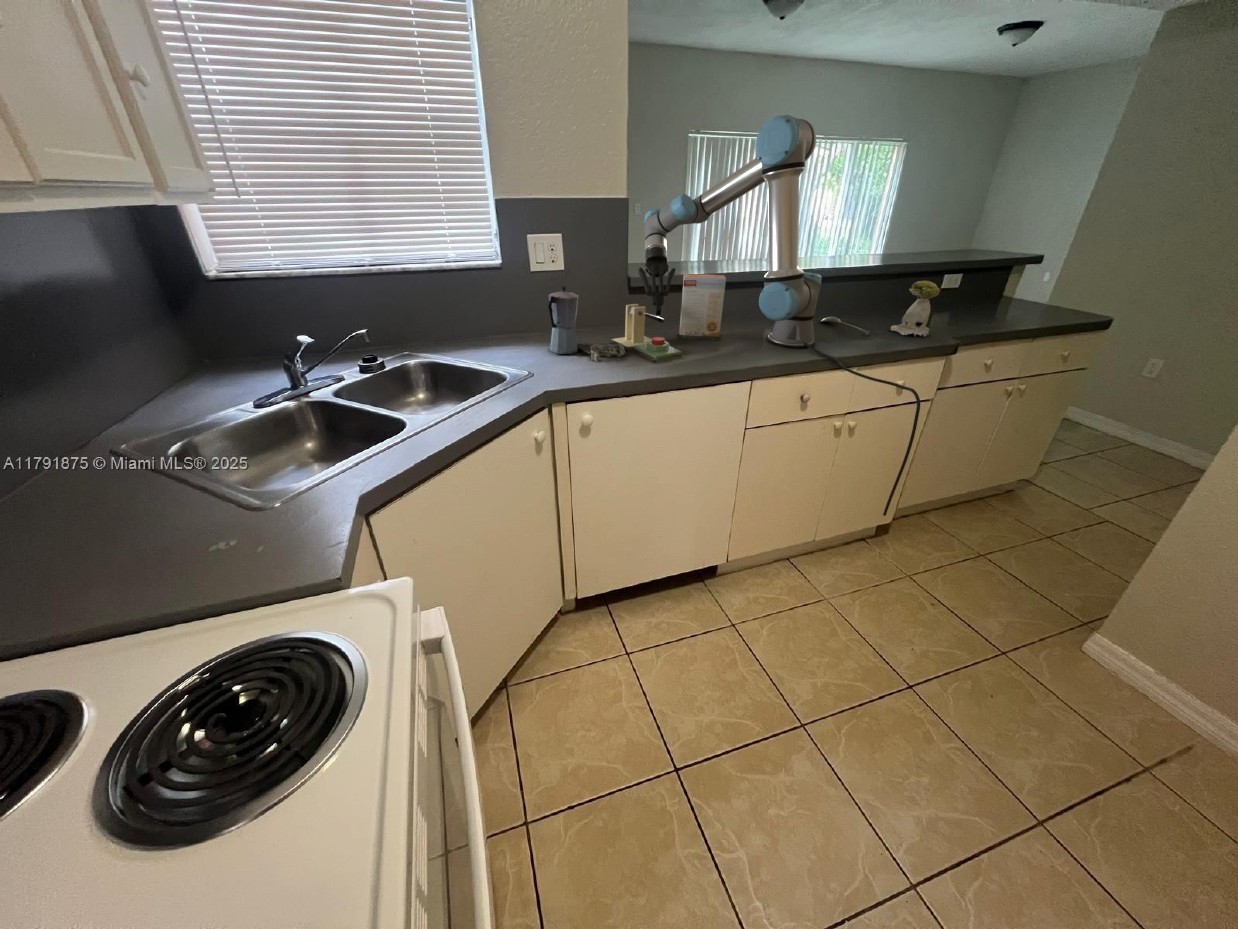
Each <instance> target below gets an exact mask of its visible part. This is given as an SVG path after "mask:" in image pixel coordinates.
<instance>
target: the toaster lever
mask: <svg viewBox="0 0 1238 929" xmlns="http://www.w3.org/2000/svg"><path fill="white" fill-rule="evenodd" d="M633 308H634V307H633V306H632V307H631V310H630V313H629V314H632V315H633ZM645 318H649V319H651V320H653V321H655V322H659V323H661V324H664V321H665V318H662V317H660V316H658V315H655V314H649V313H646V312H645Z"/></svg>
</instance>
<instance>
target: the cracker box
mask: <svg viewBox="0 0 1238 929" xmlns="http://www.w3.org/2000/svg"><path fill="white" fill-rule="evenodd" d="M726 282H727V277H726V276H725V275H724V274H699V273H698V274H697V273H695V274H693V273H691V274H689V273H685V274H683V282H682V293H681V305H680V321H679V335H680V336H692V337H693V336H695V337H718V338H719V337H720V334H721V326H722V317H723V309H724V299H725V290H726Z"/></svg>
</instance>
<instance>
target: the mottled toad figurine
mask: <svg viewBox="0 0 1238 929" xmlns="http://www.w3.org/2000/svg"><path fill="white" fill-rule="evenodd" d="M589 349H590V352H589V353H591V354H590V357H591V361H595V362H600V361H601V359H600V357H606V358H611V357H613V356H616V357H622V356H625V354H626V351H625V350H626V349H625V346H624V345H623V344H622V343H616V344H615V343H613V344H611V343H608V344H599V343H593V344H592V345H591V346H590V347H589ZM617 351H619V352H617Z"/></svg>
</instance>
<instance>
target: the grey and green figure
mask: <svg viewBox="0 0 1238 929" xmlns="http://www.w3.org/2000/svg"><path fill="white" fill-rule="evenodd" d="M908 291H909V292H910V294H912V295H913V296H916V297H917V299H916V300H915V301H914V302H913V303H912V304H911V306H910V307H909V308H908V309H907V310H906V312H905V314H904V315H903V317H902V318H901V324H898V325H897V324H896V325H895V324H894V325H891V326H890V331H895V332H897V333H899V334H900V335H902V336H908V335H911V334H912V335H914V336H916V335H919V336H920V337H922V335H923V337H927V336H928V335H929V332H930V329H929V327H927V324H928V321H929V317H930V314H931V304H930V299H932V298H935V297H937V296H939V295H940V292H941V289H940V288H939V287H938V285H937V284H936V283H934V282H932V281H930V280H918V281H915V282H913V283H912V285H911V288H908Z"/></svg>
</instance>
